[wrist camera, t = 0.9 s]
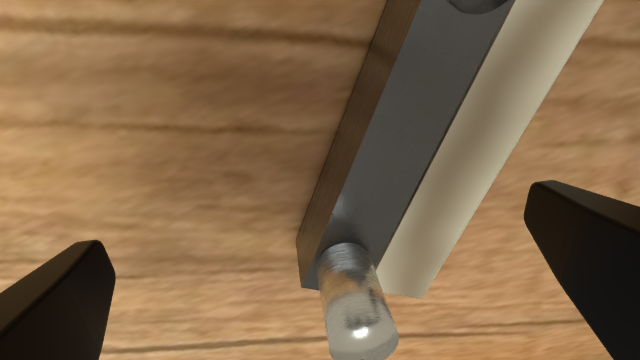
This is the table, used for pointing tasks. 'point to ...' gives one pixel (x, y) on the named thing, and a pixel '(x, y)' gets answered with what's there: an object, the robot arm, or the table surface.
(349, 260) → the stool leg
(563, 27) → the rail
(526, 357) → the table surface
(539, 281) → the table surface
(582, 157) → the table surface
